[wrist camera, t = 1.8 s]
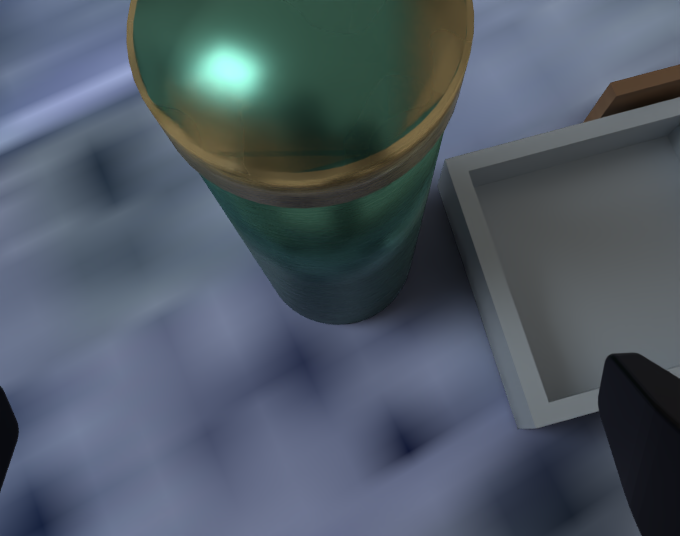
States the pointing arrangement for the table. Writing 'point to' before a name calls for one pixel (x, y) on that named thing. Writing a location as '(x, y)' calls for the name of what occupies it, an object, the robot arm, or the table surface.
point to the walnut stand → (637, 92)
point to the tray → (572, 254)
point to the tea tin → (310, 129)
